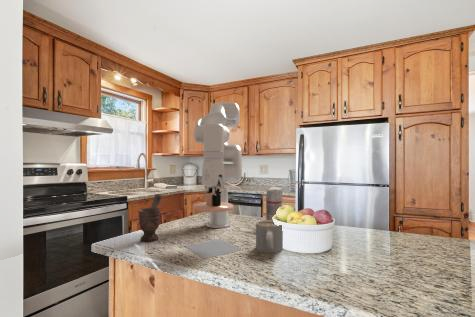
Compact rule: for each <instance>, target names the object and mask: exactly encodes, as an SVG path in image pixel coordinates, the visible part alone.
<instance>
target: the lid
mask: <svg viewBox="0 0 475 317" xmlns="http://www.w3.org/2000/svg"><path fill="white" fill-rule="evenodd" d="M212 195H214V194H213V193H206V192H205V201H202V202H198V203H195V204H194V203H193V205H192V209H193V210H194V211H196V212H201V213H202V212H204V213H209V212H223V211H232V210H233V209H234V204H232V203H231V202H228V203H227V202H221V205H220V206H212Z"/></svg>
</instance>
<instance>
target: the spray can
mask: <svg viewBox="0 0 475 317" xmlns="http://www.w3.org/2000/svg"><path fill="white" fill-rule="evenodd" d="M265 199H266V200H265V201H266V204H265V209H266V210H265V212H266V215H265V216H266V218H265V220H272V217H273V216H274V215H275V214H276V211H277V209H278V208H279V207H281V206H282V207H283V188H282V187H275V186H271V187H270V188H269V189H266V197H265Z"/></svg>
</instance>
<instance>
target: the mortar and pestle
mask: <svg viewBox="0 0 475 317" xmlns="http://www.w3.org/2000/svg"><path fill="white" fill-rule="evenodd" d="M162 198H163V196H162V194H160V193H156V194H155V195H154V197H153V201H152V204H151V207H144V208H140V209H139V210H138V224H139V227H140V228H139V229H140V230H141V231H142V232H143V234H142V236H141V237H140V240H139V242H140V243H147V244H148V243H154V242H156V241H157V242H158V241H159V238H160V237H159V236H158V234H157V233H156V231H157V230H158V229H159V226H160V223H161V213H162V212H161V210H162V208H159V207H158V206H159V204H160V203H161V201H162Z"/></svg>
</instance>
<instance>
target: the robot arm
mask: <svg viewBox="0 0 475 317" xmlns="http://www.w3.org/2000/svg"><path fill="white" fill-rule="evenodd" d="M240 111H241V109H240V106H239V105H238V104H237V103H236V102H231V101H230V102H229V101H227V102H226V101H220V102H219V101H218V102H217V101H216V102H214V103H212V104H211V105H210V108H209V112H208V113H207V115H205V116H202V117H200V118H199V119H197V121H196V123H195V126H194V129H193V139H194V141H195V142H196V143H197V144H201V145H202V144H203V162H202V170H201V185H202V186H204V189H205V194H206V193H213V194H214V195H212V206H220V205H221V202H227V203H229V192H228V188H227V187H226V186H225V183H239V182H240V181H241V180H242V177H243V168H242V167H243V163H242V162H243V158H242V156H243V154H242V149H241V146H240V145H238V144H229V143H228V142H229V140H230V130H229V128H236V127H238V126H239V124H240V122H241V120H240V119H241V117H240V116H241V112H240ZM208 214H209V215H208V216H207V219H208V221H207V222H206V224H205V226H206V227H207V228H211V229H224V228H228V227H231V225H232V223H231V222H230V221H229V219H228V217H229V216H228V214H229V212H228V211H223V212H208Z"/></svg>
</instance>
